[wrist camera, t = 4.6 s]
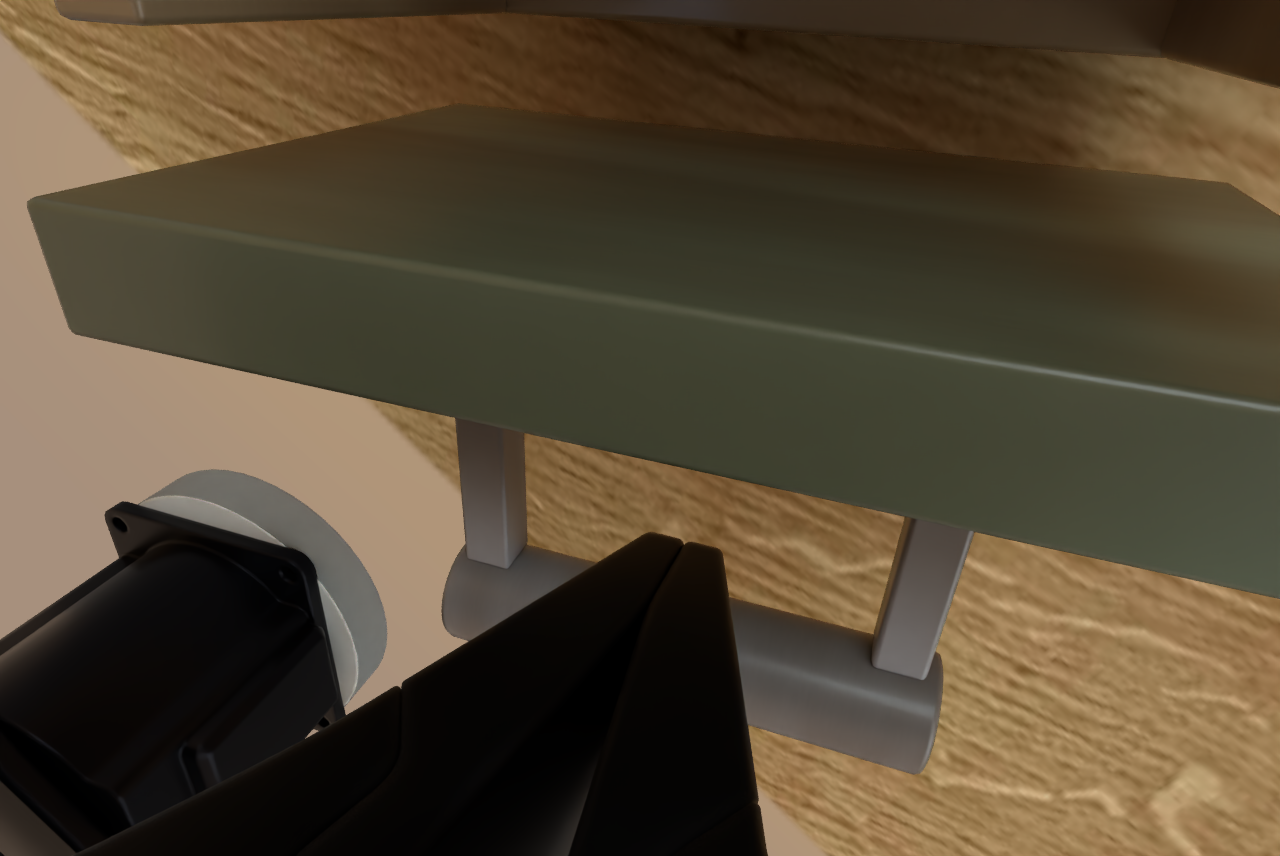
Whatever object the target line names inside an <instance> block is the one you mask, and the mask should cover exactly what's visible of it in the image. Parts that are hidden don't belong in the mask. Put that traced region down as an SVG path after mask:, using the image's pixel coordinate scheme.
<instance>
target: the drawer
mask: <svg viewBox="0 0 1280 856" xmlns="http://www.w3.org/2000/svg"><path fill="white" fill-rule="evenodd" d="M54 2H55V5H56V8H57V10H58V12H59V13H60V15H62V16H64V17H66V18H68V19H71V20H79V21H91V22H102V23H114V24H126V25H138V26H155V25H183V24H211V23H239V22H267V21H295V20H324V19H352V18H380V17H408V16H436V15H464V14H492V13H515V14H529V15H544V16H558V17H573V18H588V19H602V20H617V21H632V22H646V23H661V24H675V25H690V26H705V27H719V28H734V29H749V30H763V31H778V32H792V33H807V34H822V35H836V36H851V37H866V38H880V39H895V40H909V41H924V42H939V43H953V44H968V45H983V46H997V47H1012V48H1026V49H1041V50H1056V51H1070V52H1085V53H1100V54H1114V55H1129V56H1143V57H1158V58H1167V59H1170V60H1174V61H1177V62H1181V63H1185V64H1188V65H1192V66H1196V67H1200V68H1203V69H1207V70H1211V71H1215V72H1218V73H1222V74H1226V75H1230V76H1233V77H1237V78H1241V79H1245V80H1248V81H1252V82H1256V83H1260V84H1263V85H1267V86H1271V87H1275V88H1278V89H1280V0H54ZM27 208H28V211H29V214H30V217H31V220H32V223H33V225H34V229H35V232H36V234H37V237H38V240H39V243H40V246H41V249H42V252H43V255H44V257H45V260H46V263H47V266H48V269H49V272H50V274H51V278H52V280H53V284H54V286H55V289H56V292H57V295H58V298H59V301H60V304H61V307H62V310H63V312H64V315H65V318H66V321H67V324H68V327H69V329H70V330H71V331H72V332H73V333H74V334H76V335H81V336H86V337H90V338H94V339H99V340H103V341H108V342H112V343H117V344H121V345H126V346H131V347H135V348H140V349H144V350H149V351H154V352H158V353H162V354H167V355H172V356H176V357H181V358H185V359H190V360H194V361H199V362H203V363H208V364H213V365H218V366H222V367H227V368H231V369H235V370H240V371H244V372H249V373H254V374H258V375H263V376H267V377H272V378H277V379H281V380H286V381H290V382H295V383H300V384H304V385H308V386H313V387H318V388H322V389H326V390H331V391H335V392H340V393H345V394H349V395H354V396H358V397H363V398H367V399H372V400H376V401H381V402H386V403H390V404H395V405H399V406H404V407H408V408H413V409H417V410H422V411H427V412H431V413H436V414H440V415H445V416H449V417H454V418H455V420H456V433H457V445H458V457H459V469H460V481H461V493H462V505H463V517H464V529H465V541H466V544H465V545H464V546H463V548H462V549H461V551H460V552H459V554H458V555H457V557H456V559H455V561H454V563H453V565H452V567H451V570H450V572H449V575H448V578H447V581H446V584H445V589H444V593H443V599H442V620H443V624H444V626H445V628H446V630H447V631H448V632H449V633H450V634H451V635H452V636H454V637H458V638H461V639H464V640H467V641H470V640H472V639H473V638H475V637H477V636H478V635H480V634H481V633H483V632H485V631H486V630H488V629H490V628H491V627H493V626H495V625H496V624H498V623H499V622H501V621H503V620H504V619H506V618H508V617H509V616H511V615H513V614H514V613H516V612H517V611H519V610H521V609H522V608H524V607H526V606H527V605H529V604H531V603H532V602H534V601H535V600H537V599H539V598H540V597H542V596H544V595H545V594H547V593H549V592H550V591H552V590H553V589H555V588H557V587H558V586H560V585H562V584H563V583H565V582H567V581H568V580H570V579H571V578H573V577H575V576H576V575H578V574H580V573H581V572H583V571H585V570H586V569H588V568H589V567H591V566H593V565H594V564H596V562H592V561H589V560H585V559H581V558H577V557H573V556H569V555H565V554H562V553H558V552H554V551H550V550H546V549H542V548H538V547H535V546H531V545H527V541H528V538H527V507H526V476H525V445H524V433H527V434H531V435H536V436H540V437H545V438H549V439H554V440H559V441H563V442H568V443H572V444H577V445H581V446H586V447H590V448H595V449H600V450H604V451H609V452H613V453H618V454H622V455H627V456H631V457H636V458H640V459H645V460H650V461H654V462H659V463H663V464H668V465H672V466H677V467H681V468H686V469H691V470H695V471H700V472H704V473H709V474H713V475H718V476H722V477H727V478H732V479H736V480H741V481H745V482H750V483H754V484H759V485H763V486H768V487H773V488H777V489H782V490H786V491H791V492H795V493H800V494H804V495H809V496H813V497H818V498H823V499H827V500H832V501H836V502H841V503H845V504H850V505H854V506H859V507H864V508H868V509H873V510H877V511H882V512H886V513H891V514H895V515H900V516H905V519H904V522H903V526H902V530H901V534H900V537H899V541H898V545H897V548H896V552H895V556H894V559H893V563H892V567H891V571H890V574H889V578H888V582H887V585H886V589H885V593H884V597H883V600H882V604H881V608H880V611H879V615H878V619H877V623H876V626H875V630H874V634H870V633H866V632H862V631H858V630H854V629H850V628H847V627H843V626H839V625H835V624H831V623H827V622H823V621H820V620H816V619H812V618H808V617H804V616H800V615H796V614H793V613H789V612H785V611H781V610H777V609H773V608H770V607H766V606H762V605H758V604H754V603H750V602H746V601H743V600H739V599H735V598H731V597H729V600H730V606H731V613H732V620H733V627H734V634H735V641H736V648H737V654H738V661H739V668H740V675H741V682H742V689H743V695H744V702H745V709H746V716H747V723H748V725H750V726H753V727H757V728H760V729H763V730H767V731H770V732H773V733H777V734H780V735H783V736H787V737H790V738H793V739H797V740H800V741H803V742H807V743H810V744H813V745H817V746H820V747H823V748H827V749H830V750H833V751H837V752H840V753H843V754H847V755H850V756H853V757H857V758H860V759H863V760H866V761H870V762H873V763H876V764H880V765H883V766H886V767H890V768H893V769H896V770H900V771H903V772H906V773H910V774H920V773H921V772H922V771H923V769H924V768H925V766H926V764H927V762H928V760H929V757H930V755H931V752H932V748H933V745H934V741H935V737H936V732H937V727H938V722H939V716H940V710H941V702H942V693H943V665H942V660H941V656H940V654H939V653H937V652H936V648H937V645H938V642H939V639H940V636H941V633H942V630H943V627H944V624H945V621H946V618H947V615H948V612H949V609H950V606H951V603H952V600H953V597H954V594H955V591H956V588H957V584H958V581H959V578H960V575H961V572H962V569H963V566H964V563H965V560H966V557H967V554H968V551H969V548H970V545H971V542H972V539H973V536H974V533H975V532H977V533H982V534H987V535H991V536H996V537H1000V538H1005V539H1009V540H1014V541H1018V542H1023V543H1027V544H1032V545H1037V546H1041V547H1046V548H1050V549H1055V550H1059V551H1064V552H1068V553H1073V554H1078V555H1082V556H1087V557H1091V558H1096V559H1100V560H1105V561H1109V562H1114V563H1119V564H1123V565H1128V566H1132V567H1137V568H1141V569H1146V570H1150V571H1155V572H1160V573H1164V574H1169V575H1173V576H1178V577H1182V578H1187V579H1191V580H1196V581H1200V582H1205V583H1210V584H1214V585H1219V586H1223V587H1228V588H1232V589H1237V590H1241V591H1246V592H1251V593H1255V594H1260V595H1264V596H1269V597H1273V598H1278V599H1280V216H1279V215H1278V214H1276V213H1275V212H1273V211H1271V210H1270V209H1268V208H1267V207H1265V206H1264V205H1262V204H1260V203H1259V202H1257V201H1256V200H1254V199H1253V198H1251V197H1249V196H1248V195H1246V194H1245V193H1243V192H1242V191H1240V190H1239V189H1237V188H1235V187H1234V186H1232V185H1231V184H1229V183H1224V182H1215V181H1205V180H1195V179H1186V178H1176V177H1166V176H1157V175H1147V174H1137V173H1127V172H1118V171H1108V170H1098V169H1089V168H1079V167H1069V166H1060V165H1050V164H1040V163H1031V162H1021V161H1011V160H1001V159H992V158H982V157H972V156H963V155H953V154H943V153H934V152H924V151H914V150H904V149H895V148H885V147H875V146H866V145H856V144H846V143H837V142H827V141H817V140H807V139H798V138H788V137H778V136H769V135H759V134H749V133H740V132H730V131H720V130H710V129H701V128H691V127H681V126H672V125H662V124H652V123H643V122H633V121H623V120H613V119H604V118H594V117H584V116H575V115H565V114H555V113H546V112H536V111H526V110H516V109H507V108H497V107H487V106H478V105H468V104H454V105H449V106H445V107H440V108H436V109H431V110H426V111H422V112H417V113H413V114H408V115H404V116H399V117H395V118H390V119H386V120H381V121H377V122H372V123H368V124H363V125H359V126H354V127H349V128H345V129H340V130H336V131H331V132H327V133H322V134H318V135H313V136H309V137H304V138H300V139H295V140H291V141H286V142H281V143H277V144H272V145H268V146H263V147H259V148H254V149H250V150H245V151H241V152H236V153H232V154H227V155H223V156H218V157H214V158H209V159H204V160H200V161H195V162H191V163H186V164H182V165H177V166H173V167H168V168H164V169H159V170H155V171H150V172H146V173H141V174H137V175H132V176H127V177H123V178H118V179H115V180H109V181H105V182H101V183H96V184H91V185H87V186H82V187H78V188H73V189H69V190H64V191H60V192H55V193H50V194H46V195H41V196H37V197H34V198H32V199H30V200H29V201H27Z"/></svg>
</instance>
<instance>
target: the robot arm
mask: <svg viewBox="0 0 1280 856" xmlns="http://www.w3.org/2000/svg"><path fill="white" fill-rule="evenodd" d="M105 520H106V523H107V526H108V528H109V531H110V534H111V537H112V539H113V542H114V545H115V548H116V550H117V553H118V555H119V559H118V560H116V561H114V562H113V563H112V564H110V565H109V566H107V567H106V568H104V569H103V570H101V571H100V572H98V573H97V574H96V575H94V576H93V577H91V578H90V579H88V580H87V581H85V582H84V583H82V584H81V585H79V586H78V587H76V588H75V589H74V590H72V591H71V592H69V593H68V594H66V595H65V596H63V597H62V598H60V599H59V600H58V601H56V602H55V603H53V604H52V605H50V606H49V607H47V608H46V609H44V610H43V611H41V612H40V613H39V614H37V615H36V616H34V617H33V618H31V619H30V620H28V621H27V622H25V623H24V624H23V625H21V626H20V627H18V628H17V629H15V630H14V631H12V632H11V633H9V634H8V635H6V636H5V637H3V638H2V639H1V640H0V856H768V854H767V849H766V843H765V836H764V829H763V823H762V816H761V809H760V806H759V805H758V799H759V798H758V791H757V784H756V778H755V771H754V764H753V757H752V750H751V743H750V737H749V730H748V723H747V716H746V709H745V702H744V695H743V689H742V682H741V675H740V668H739V661H738V654H737V648H736V641H735V634H734V627H733V620H732V613H731V606H730V600H729V593H728V586H727V579H726V572H725V565H724V559H723V553H722V551H721V550H720V549H718V548H716V547H712V546H707V545H703V544H699V543H695V542H687V543H685V544H684V543H683V541H682V540H681V539H679V538H675V537H671V536H667V535H663V534H658V533H654V532H649V533H645V534H643V535H642V536H640V537H639V538H637V539H635V540H634V541H632V542H630V543H629V544H627V545H625V546H624V547H622V548H621V549H619V550H617V551H616V552H614V553H612V554H611V555H609V556H607V557H606V558H604V559H603V560H601V561H599V562H598V563H596V564H594V565H593V566H591V567H589V568H588V569H586V570H585V571H583V572H581V573H580V574H578V575H576V576H575V577H573V578H571V579H570V580H568V581H567V582H565V583H563V584H562V585H560V586H558V587H557V588H555V589H553V590H552V591H550V592H549V593H547V594H545V595H544V596H542V597H540V598H539V599H537V600H535V601H534V602H532V603H531V604H529V605H527V606H526V607H524V608H522V609H521V610H519V611H517V612H516V613H514V614H513V615H511V616H509V617H508V618H506V619H504V620H503V621H501V622H499V623H498V624H496V625H495V626H493V627H491V628H490V629H488V630H486V631H485V632H483V633H481V634H480V635H478V636H477V637H475V638H473V639H472V640H470V641H468V642H467V643H465V644H463V645H462V646H460V647H459V648H457V649H455V650H454V651H452V652H451V653H449V654H447V655H446V656H444V657H442V658H441V659H439V660H438V661H436V662H434V663H433V664H431V665H429V666H427V667H426V668H424V669H423V670H421V671H419V672H418V673H416V674H414V675H413V676H411V677H409V678H408V679H406V680H405V681H403V683H402V687H401V688H400V687H398V686H395V687H393V688H391V689H390V690H388V691H386V692H384V693H383V694H381V695H380V696H378V697H376V698H375V699H373V700H372V701H370V702H368V703H366V704H365V705H363V706H361V707H360V708H358V709H356V710H355V711H353V712H351V713H349V714H348V715H346V714H345V710H344V705H343V700H342V695H341V691H340V686H339V681H338V676H337V672H336V667H335V662H334V657H333V652H332V648H331V643H330V638H329V633H328V629H327V624H326V619H325V614H324V610H323V605H322V600H321V595H320V590H319V586H318V581H317V576H316V571H315V568H314V566H313V563H312V562H311V561H310V560H309V558H308V557H307V556H305V555H304V554H303V553H301V552H299V551H297V550H294V549H291V548H287V547H284V546H280V545H277V544H273V543H270V542H266V541H263V540H259V539H256V538H252V537H249V536H245V535H242V534H238V533H235V532H231V531H228V530H224V529H221V528H217V527H214V526H210V525H207V524H203V523H200V522H196V521H193V520H189V519H186V518H182V517H179V516H175V515H172V514H168V513H165V512H161V511H158V510H154V509H151V508H147V507H144V506H140V505H137V504H133V503H130V502H120V503H119V504H117V505H115V506H114V507H112V508H111V509H109V510H107V511H106V513H105ZM313 729H315V730H318V732H317V733H315V734H313V735H311V736H310V737H308V738H306V737H307V735H308V734H309V733H310V732H311V731H312V730H313ZM305 738H306V739H305Z"/></svg>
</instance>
